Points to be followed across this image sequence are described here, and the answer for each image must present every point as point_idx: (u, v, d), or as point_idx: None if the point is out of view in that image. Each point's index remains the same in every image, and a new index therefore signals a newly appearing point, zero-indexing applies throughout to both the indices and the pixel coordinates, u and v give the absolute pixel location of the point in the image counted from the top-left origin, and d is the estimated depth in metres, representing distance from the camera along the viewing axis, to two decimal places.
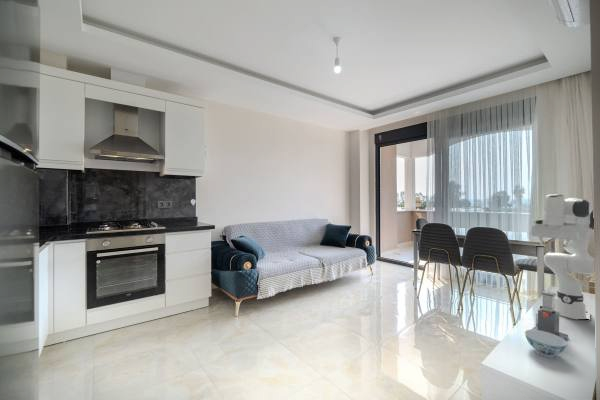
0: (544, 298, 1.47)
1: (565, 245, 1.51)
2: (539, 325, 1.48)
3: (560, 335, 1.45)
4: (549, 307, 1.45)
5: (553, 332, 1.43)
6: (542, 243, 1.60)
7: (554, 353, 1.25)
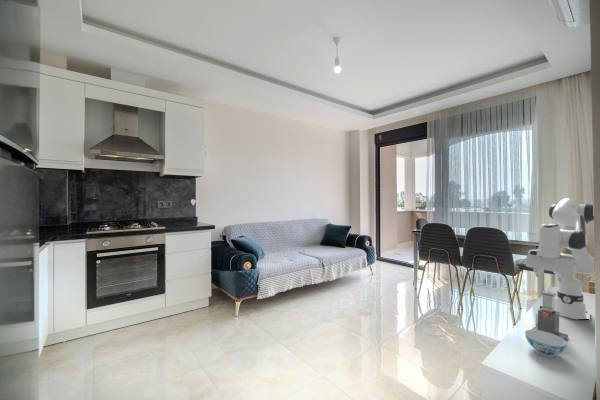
0: (544, 298, 1.47)
1: (561, 279, 1.42)
2: (539, 325, 1.48)
3: (560, 335, 1.45)
4: (549, 307, 1.45)
5: (553, 332, 1.43)
6: (536, 275, 1.51)
7: (554, 353, 1.25)
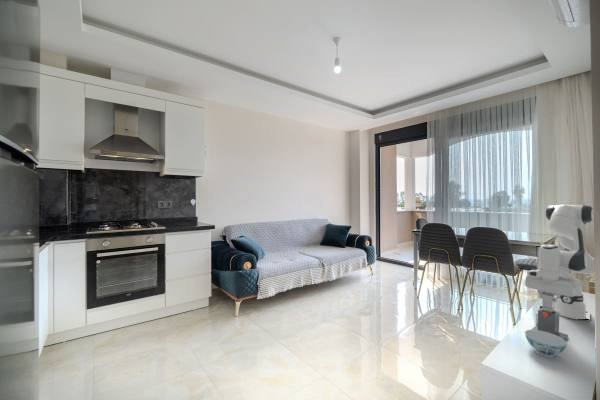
0: (544, 298, 1.47)
1: (555, 300, 1.44)
2: (539, 325, 1.48)
3: (560, 335, 1.45)
4: (549, 307, 1.45)
5: (553, 332, 1.43)
6: (541, 297, 1.49)
7: (554, 353, 1.25)
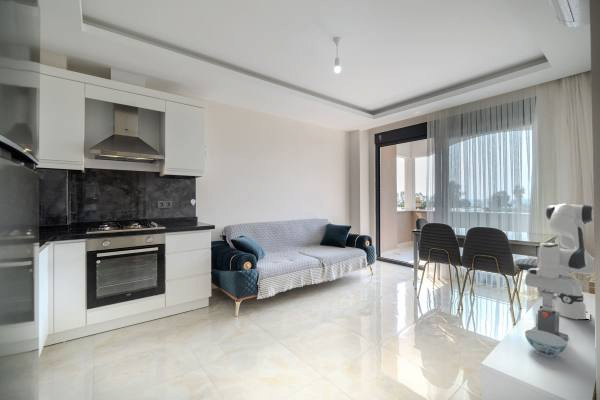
0: (544, 296, 1.47)
1: (555, 298, 1.44)
2: (539, 325, 1.48)
3: (560, 335, 1.45)
4: (549, 305, 1.45)
5: (553, 332, 1.43)
6: (541, 295, 1.49)
7: (554, 353, 1.25)
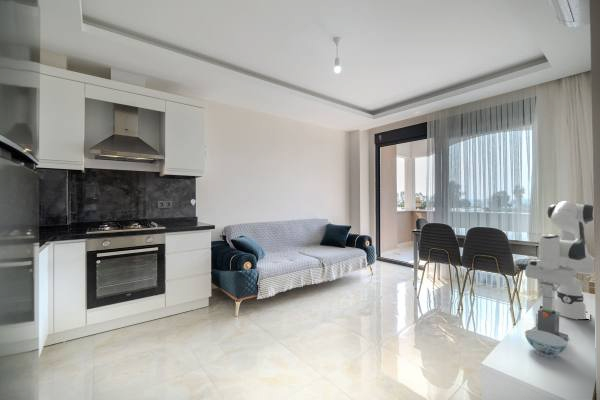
0: (544, 288, 1.47)
1: (556, 289, 1.44)
2: (539, 325, 1.48)
3: (560, 335, 1.45)
4: (549, 297, 1.45)
5: (553, 332, 1.43)
6: (541, 287, 1.49)
7: (554, 353, 1.25)
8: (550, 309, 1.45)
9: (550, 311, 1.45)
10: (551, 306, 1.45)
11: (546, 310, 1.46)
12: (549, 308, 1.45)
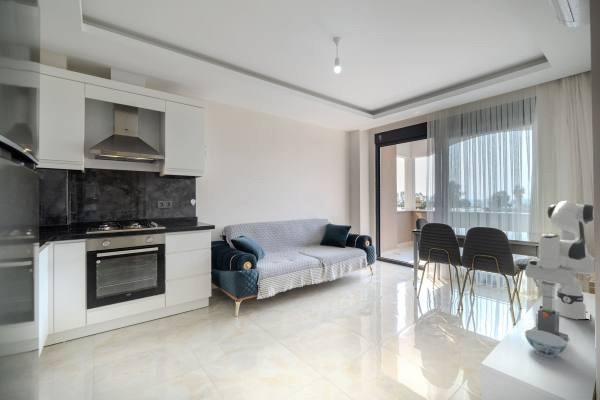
0: (544, 287, 1.47)
1: (561, 290, 1.42)
2: (539, 325, 1.48)
3: (560, 335, 1.45)
4: (549, 296, 1.45)
5: (553, 332, 1.43)
6: (536, 285, 1.51)
7: (554, 353, 1.25)
8: (550, 309, 1.45)
9: (550, 311, 1.45)
10: (551, 306, 1.45)
11: (546, 310, 1.46)
12: (549, 308, 1.45)
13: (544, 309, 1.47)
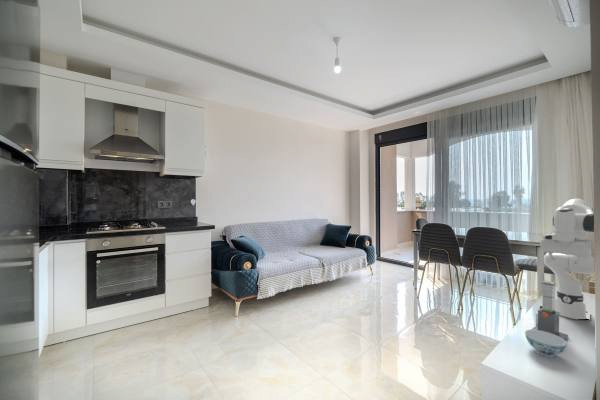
0: (544, 287, 1.47)
1: (576, 262, 1.45)
2: (539, 325, 1.48)
3: (560, 335, 1.45)
4: (549, 296, 1.45)
5: (553, 332, 1.43)
6: (552, 259, 1.54)
7: (554, 353, 1.25)
8: (550, 309, 1.45)
9: (550, 311, 1.45)
10: (551, 306, 1.45)
11: (546, 310, 1.46)
12: (549, 308, 1.45)
13: (544, 309, 1.47)
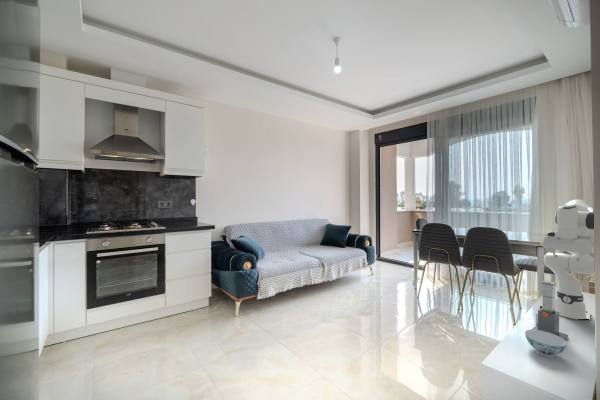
0: (544, 287, 1.47)
1: (579, 259, 1.46)
2: (539, 325, 1.48)
3: (560, 335, 1.45)
4: (549, 296, 1.45)
5: (553, 332, 1.43)
6: (554, 256, 1.54)
7: (554, 353, 1.25)
8: (550, 309, 1.45)
9: (550, 311, 1.45)
10: (551, 306, 1.45)
11: (546, 310, 1.46)
12: (549, 308, 1.45)
13: (544, 309, 1.47)
